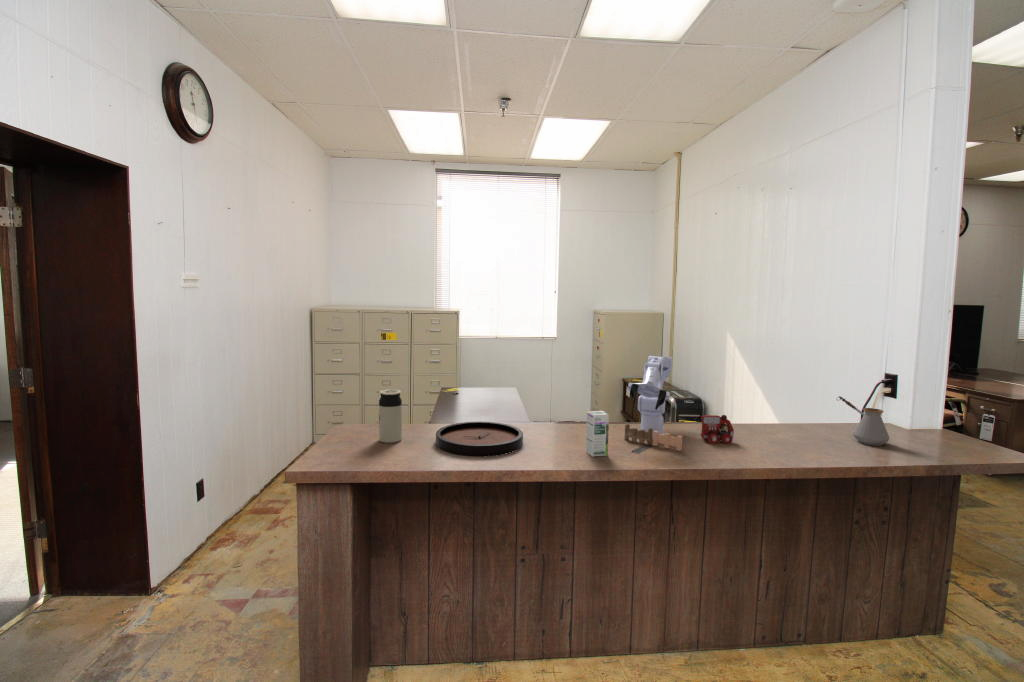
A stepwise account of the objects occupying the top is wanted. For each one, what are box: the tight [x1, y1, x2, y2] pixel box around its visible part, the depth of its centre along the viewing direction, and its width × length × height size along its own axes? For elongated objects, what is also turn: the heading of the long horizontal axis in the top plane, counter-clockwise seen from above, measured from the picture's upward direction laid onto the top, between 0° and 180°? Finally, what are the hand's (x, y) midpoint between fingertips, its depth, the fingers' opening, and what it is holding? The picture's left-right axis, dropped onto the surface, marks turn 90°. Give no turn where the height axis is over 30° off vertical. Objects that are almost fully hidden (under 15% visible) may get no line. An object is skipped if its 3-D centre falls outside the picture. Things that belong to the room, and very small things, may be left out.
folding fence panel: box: [652, 431, 683, 452], centre depth 180 cm, size 10×1×5 cm, turn 52°
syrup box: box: [585, 410, 610, 458], centre depth 174 cm, size 6×6×14 cm
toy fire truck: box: [700, 414, 735, 445], centre depth 191 cm, size 7×12×10 cm, turn 94°
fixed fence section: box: [624, 423, 653, 446], centre depth 187 cm, size 2×11×6 cm, turn 51°
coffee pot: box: [836, 396, 890, 447], centre depth 199 cm, size 21×12×15 cm, turn 14°
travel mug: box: [378, 389, 403, 444], centre depth 184 cm, size 8×8×18 cm
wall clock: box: [435, 421, 524, 458], centre depth 184 cm, size 31×4×31 cm
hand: (645, 404), depth 177 cm, fingers open, 7 cm apart
